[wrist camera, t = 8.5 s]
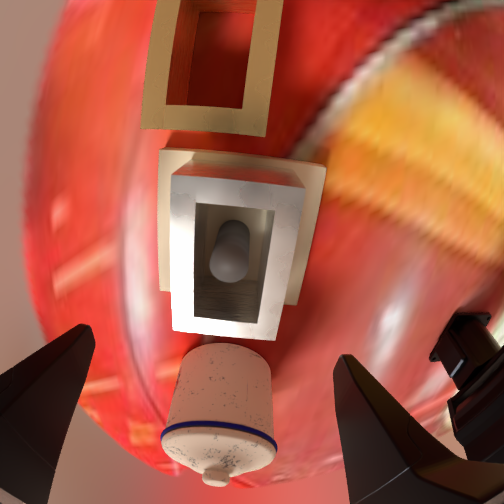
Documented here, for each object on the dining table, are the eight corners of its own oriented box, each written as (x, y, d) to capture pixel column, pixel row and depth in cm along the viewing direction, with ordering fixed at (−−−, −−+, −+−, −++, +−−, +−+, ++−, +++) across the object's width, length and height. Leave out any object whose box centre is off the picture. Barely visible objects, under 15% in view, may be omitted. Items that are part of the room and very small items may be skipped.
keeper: (322, 164, 18) (346, 184, 13) (294, 295, 22) (303, 343, 17) (164, 147, 17) (133, 161, 13) (164, 281, 22) (143, 325, 17)
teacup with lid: (161, 349, 25) (128, 460, 15) (254, 327, 24) (254, 458, 13) (215, 415, 30) (206, 504, 20) (291, 402, 29) (299, 498, 18)
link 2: (191, 158, 16) (170, 174, 12) (293, 169, 17) (305, 188, 13) (187, 287, 20) (173, 329, 16) (271, 296, 21) (275, 340, 17)
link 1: (183, -3, 12) (164, -31, 8) (280, 1, 13) (287, -28, 9) (166, 124, 16) (140, 128, 12) (262, 131, 17) (265, 137, 13)
